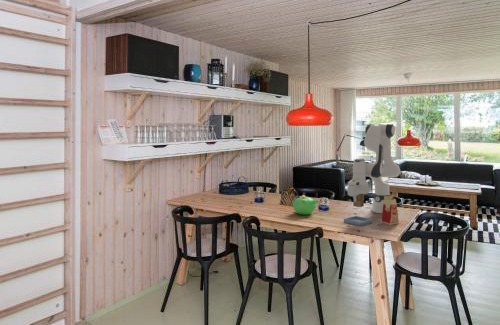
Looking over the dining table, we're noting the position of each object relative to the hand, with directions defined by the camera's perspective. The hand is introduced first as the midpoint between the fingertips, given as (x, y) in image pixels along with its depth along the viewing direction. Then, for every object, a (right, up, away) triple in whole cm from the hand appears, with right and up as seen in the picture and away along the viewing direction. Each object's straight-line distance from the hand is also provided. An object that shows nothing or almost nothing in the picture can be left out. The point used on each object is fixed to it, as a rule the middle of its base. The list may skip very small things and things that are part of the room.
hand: (358, 201), depth 257 cm
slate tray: (0, -15, +1) cm, 15 cm away
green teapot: (-34, -13, +27) cm, 46 cm away
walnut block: (0, -4, 0) cm, 4 cm away
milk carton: (+22, -16, +1) cm, 27 cm away
